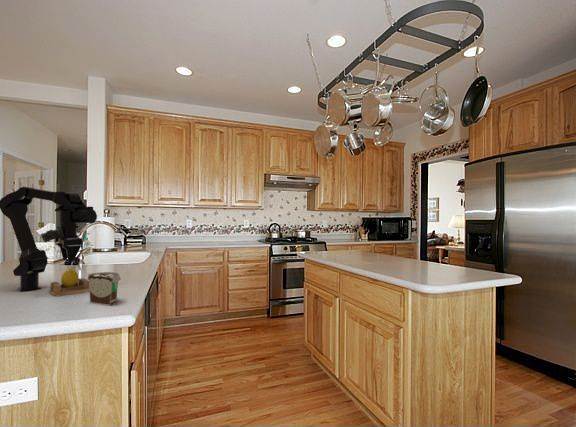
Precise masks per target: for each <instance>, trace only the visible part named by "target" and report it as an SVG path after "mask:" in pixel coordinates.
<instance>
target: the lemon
mask: <svg viewBox="0 0 576 427" xmlns="http://www.w3.org/2000/svg"><path fill="white" fill-rule="evenodd" d="M78 279H79V275H78V272H77V271H75V270H73V269H72V268H69V269H68V270H66V271H65V272H63V273H62V276H61V280H60V281H61V284H62V285H63V286H64V287H67V288H68V287H74V286H75V285H76V284H77V283H78Z"/></svg>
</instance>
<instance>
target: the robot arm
mask: <svg viewBox="0 0 576 427" xmlns="http://www.w3.org/2000/svg"><path fill="white" fill-rule="evenodd" d="M33 199H39V200H44V201H50V202H53V203H54V205H55V204H56V205H58V207H57V208H55V209H54V212H59V225H58V226H57V228H56V229H50V230H46V231H45V232H43V233H40V236H41V239H42V241H43V242H44V243H49V242H50V241H52V240H53V243H54V244H55V245H56V246H58V247H59V249H60V253H61V256H62V260H63V261H67V262H68V264H72V263H73V262H74V260H75V258H76V256H77V255H78V252H79V251H80V249H81V248H82V245H84V239H82V238H81V237H79V235H78V228H79V225H78V224H94V223H96V221H97V219H98V214H97V212H96V210H94V207H93V206H87V205H86V204H85V203H84V201H83V200H82V199H81V196H80V194H79V193H77V192H72V191H53V190H52V191H51V190H45V189H39V188H35V187H31V186H22V187H20V188H18V189H17V190H15V191H13V192H10V193H7V194H6V195H4V196H3V197H2V198H1V199H0V211H1V213H2V214H3V215H4V216H5V217H7V218H8V219H9V220H10V223H11V226H12V229H13V232H14V234H15V237H16V240H17V243H18V245H19V249H20V251H21V252H20V255H19V257H18V260H19V261H18V262H19V264H17V266H16V267H15V268H14V269H13V270H12V273H13V275H14V276H15V277H20V278H19V279H20V281H19V283H20V284H19V285H20V286H19V287H17V289H18V291H19V292H26V291H27V292H28V291H33V290H34V291H35V290H41V289H42V287H41V286H40V285H39V284H40V283H39V278H40V277H39V274H41V273H45V270H46V267H47V265H48V264H49V262H48V260H49V258H48V256H47V254H46V251H45V249H42V250H40V249H39V248H38V247H37V243H36V241H35V239H34V236H33V233H32V229H31V228H30V226H29V222H28V219H27V216H26V215H27V214H28V213H27V212H28V211H29V210H28V206H29V205H30V204H32V203H33ZM77 223H78V224H77Z"/></svg>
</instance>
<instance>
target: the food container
mask: <svg viewBox="0 0 576 427" xmlns="http://www.w3.org/2000/svg"><path fill="white" fill-rule="evenodd" d="M87 275H88V276H87V279H86V280H88V281H89V291H88V292H89V303H90V304H98V305H104V306H113V305H114V304H116V303H117V296H118V287H119V281H120V280H121V276H120V274H119V273H118V272H111V271H107V272H106V271H104V272H103V271H102V272H93V273H92V272H91V273H88V274H87Z"/></svg>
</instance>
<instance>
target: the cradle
mask: <svg viewBox="0 0 576 427" xmlns="http://www.w3.org/2000/svg"><path fill="white" fill-rule="evenodd" d="M86 292H89V280H87V279H86V278H84V277H82V278H78V283H77V284H76V285H75V286H74V287H68V288H67V287H64V286H63V285H62V283H59V282H58V281H50V289H49V293H50V294H51V295H52V296H53V297H61V296H68V295H73V294H75V295H76V294H80V293H86Z"/></svg>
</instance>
